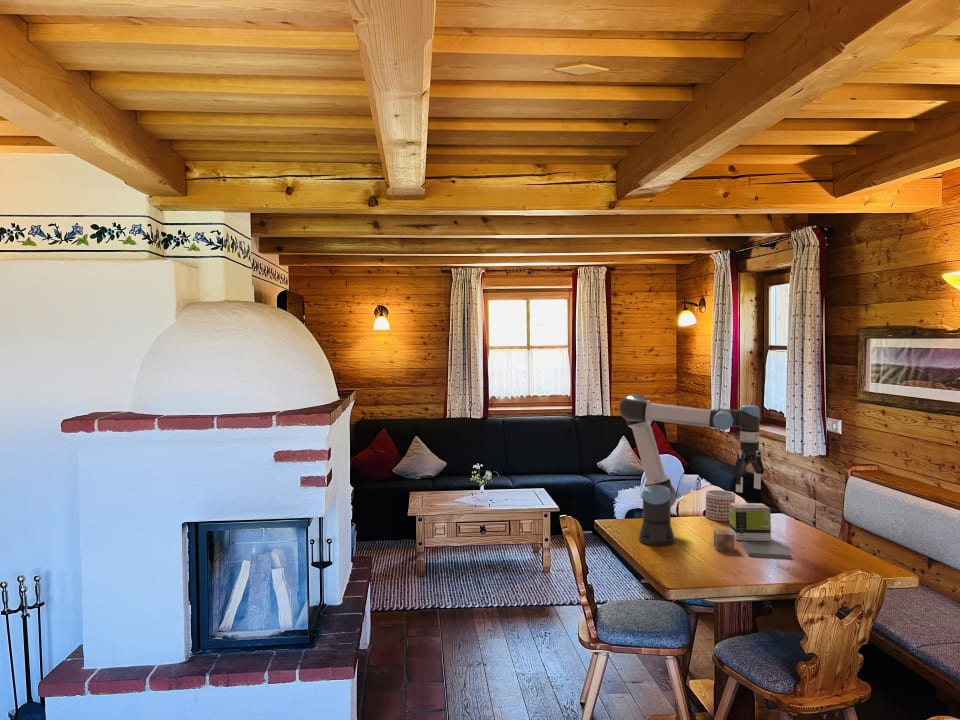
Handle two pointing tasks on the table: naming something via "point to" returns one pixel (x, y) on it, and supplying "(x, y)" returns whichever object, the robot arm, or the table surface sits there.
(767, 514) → the tea box
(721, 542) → the walnut cube
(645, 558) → the table surface
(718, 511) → the planter
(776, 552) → the slate board
